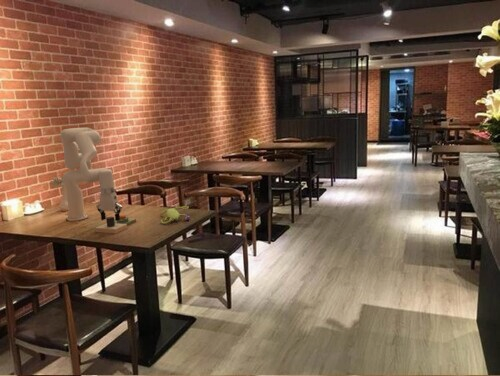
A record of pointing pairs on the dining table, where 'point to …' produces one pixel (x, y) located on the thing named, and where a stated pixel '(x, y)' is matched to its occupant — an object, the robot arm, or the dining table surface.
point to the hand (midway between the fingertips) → (110, 220)
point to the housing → (125, 221)
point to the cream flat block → (111, 228)
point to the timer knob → (110, 221)
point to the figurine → (174, 214)
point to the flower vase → (64, 202)
